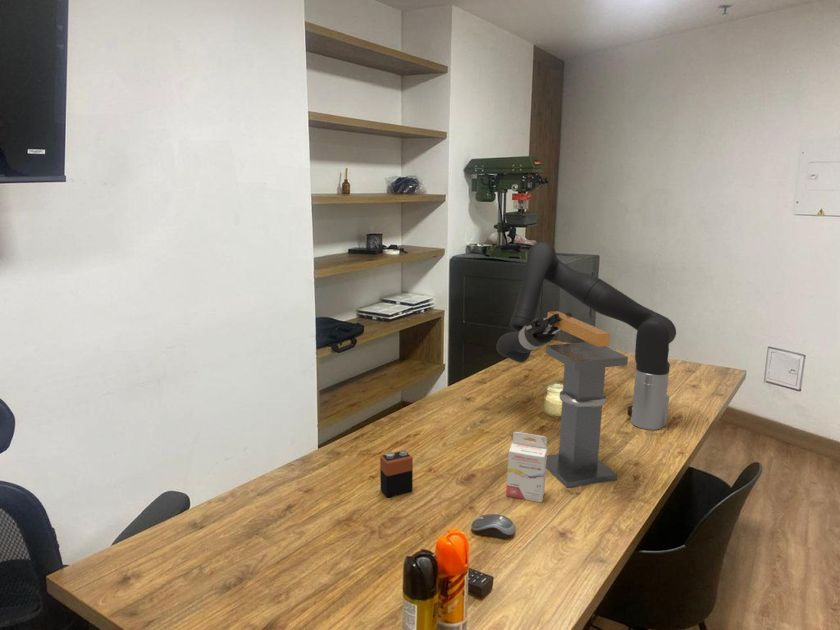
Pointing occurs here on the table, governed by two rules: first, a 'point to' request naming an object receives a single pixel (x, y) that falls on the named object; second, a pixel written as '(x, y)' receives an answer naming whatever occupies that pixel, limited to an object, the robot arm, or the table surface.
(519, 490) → the ink cartridge box
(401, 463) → the battery
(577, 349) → the stand
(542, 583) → the table surface
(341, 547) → the table surface
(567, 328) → the bar
